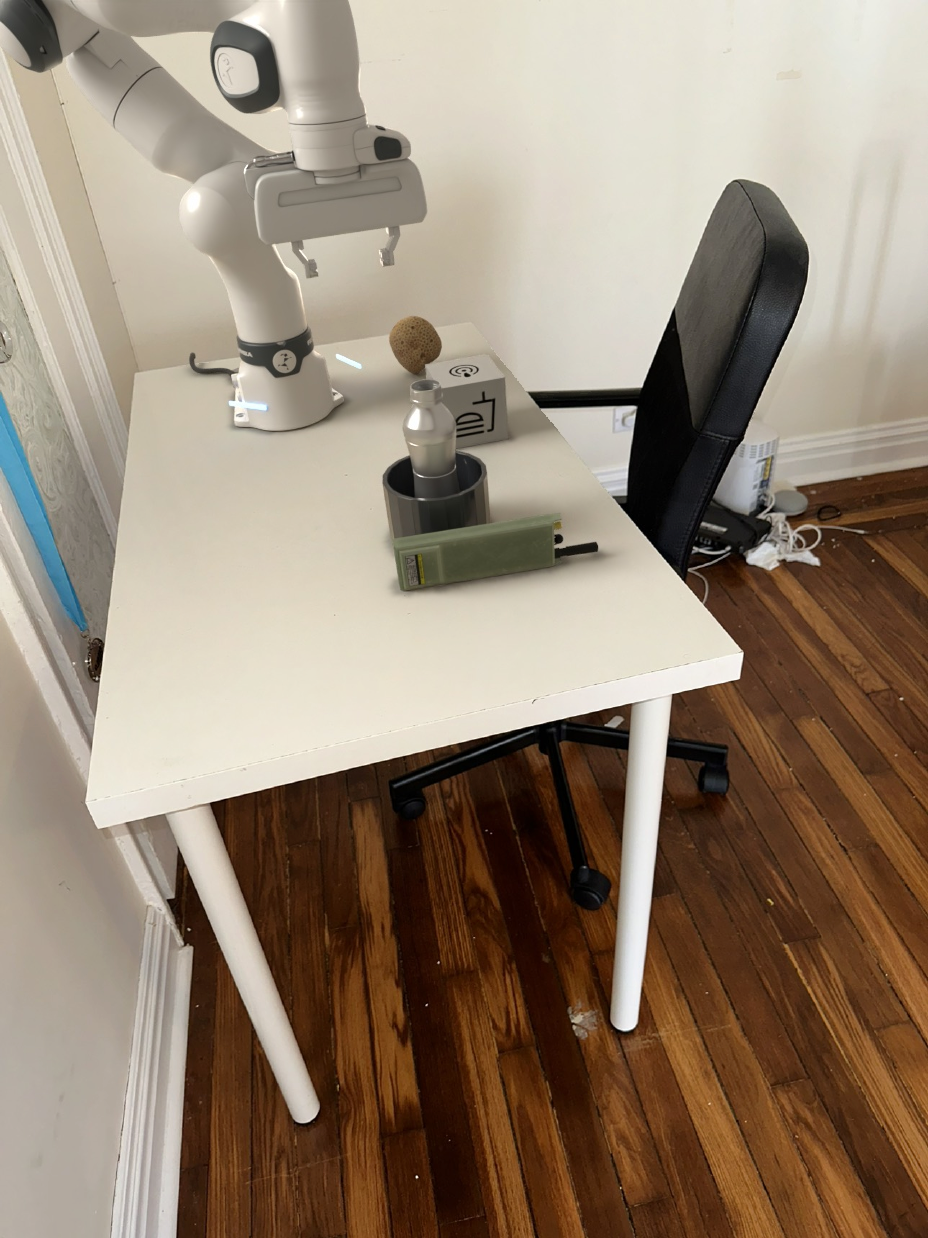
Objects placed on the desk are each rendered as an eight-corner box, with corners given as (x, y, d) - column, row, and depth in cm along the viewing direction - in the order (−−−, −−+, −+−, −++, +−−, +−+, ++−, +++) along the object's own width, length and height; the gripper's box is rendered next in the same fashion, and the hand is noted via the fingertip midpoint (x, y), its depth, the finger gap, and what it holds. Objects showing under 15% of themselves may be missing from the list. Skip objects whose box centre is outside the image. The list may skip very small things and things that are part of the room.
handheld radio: (398, 579, 114) (593, 547, 116) (401, 595, 111) (601, 562, 113) (391, 534, 109) (594, 502, 112) (394, 550, 107) (602, 516, 109)
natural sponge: (432, 358, 170) (426, 304, 164) (452, 373, 163) (447, 318, 157) (386, 369, 167) (379, 315, 161) (405, 386, 161) (398, 330, 155)
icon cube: (508, 438, 142) (505, 377, 136) (445, 450, 140) (439, 388, 134) (491, 413, 149) (487, 353, 143) (431, 423, 148) (425, 364, 142)
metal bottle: (461, 543, 118) (447, 396, 105) (410, 541, 119) (391, 396, 107) (471, 517, 122) (459, 374, 110) (422, 515, 124) (404, 373, 112)
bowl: (378, 523, 125) (369, 464, 119) (469, 499, 128) (464, 441, 122) (409, 572, 115) (401, 510, 109) (506, 545, 118) (503, 483, 112)
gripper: (241, 163, 100) (267, 291, 108) (423, 138, 103) (435, 265, 111) (238, 153, 105) (263, 276, 113) (412, 130, 108) (424, 251, 116)
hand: (350, 270), depth 112 cm, fingers open, 8 cm apart
